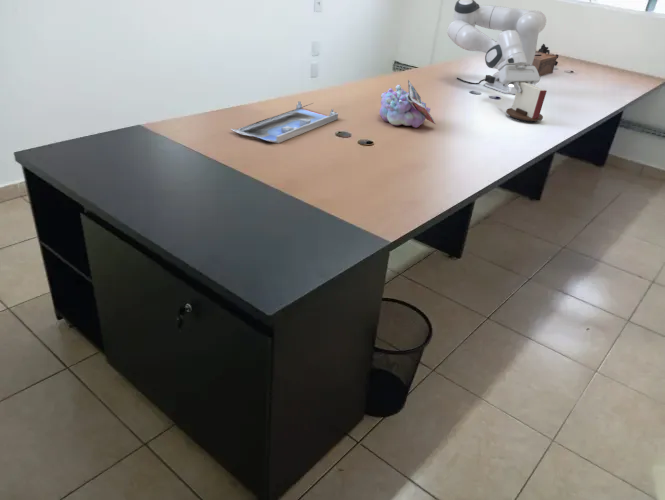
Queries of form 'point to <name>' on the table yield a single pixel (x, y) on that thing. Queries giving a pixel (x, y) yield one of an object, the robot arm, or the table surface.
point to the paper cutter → (287, 124)
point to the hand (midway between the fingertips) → (524, 92)
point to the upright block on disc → (528, 103)
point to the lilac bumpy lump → (404, 107)
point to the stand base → (523, 120)
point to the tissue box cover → (544, 63)
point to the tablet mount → (546, 51)
